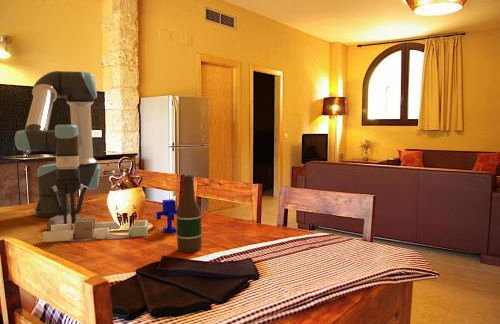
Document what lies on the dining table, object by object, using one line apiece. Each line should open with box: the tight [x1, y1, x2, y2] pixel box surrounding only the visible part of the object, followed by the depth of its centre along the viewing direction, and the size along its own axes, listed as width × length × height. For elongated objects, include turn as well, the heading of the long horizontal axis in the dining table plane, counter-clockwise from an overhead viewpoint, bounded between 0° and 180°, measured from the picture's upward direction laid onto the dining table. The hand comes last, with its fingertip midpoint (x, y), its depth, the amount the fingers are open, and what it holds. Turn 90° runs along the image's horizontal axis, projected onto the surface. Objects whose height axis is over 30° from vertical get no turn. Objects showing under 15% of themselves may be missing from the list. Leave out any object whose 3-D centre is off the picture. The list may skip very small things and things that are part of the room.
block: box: [74, 217, 96, 240], centre depth 147 cm, size 6×6×6 cm
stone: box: [46, 214, 83, 231], centre depth 160 cm, size 12×9×5 cm
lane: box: [42, 219, 149, 243], centre depth 148 cm, size 11×35×4 cm, turn 102°
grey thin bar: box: [69, 235, 131, 243], centre depth 142 cm, size 2×20×1 cm, turn 102°
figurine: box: [155, 198, 177, 234], centre depth 152 cm, size 8×8×12 cm
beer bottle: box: [176, 174, 202, 254], centre depth 129 cm, size 8×8×24 cm
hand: (70, 232), depth 146 cm, fingers closed
